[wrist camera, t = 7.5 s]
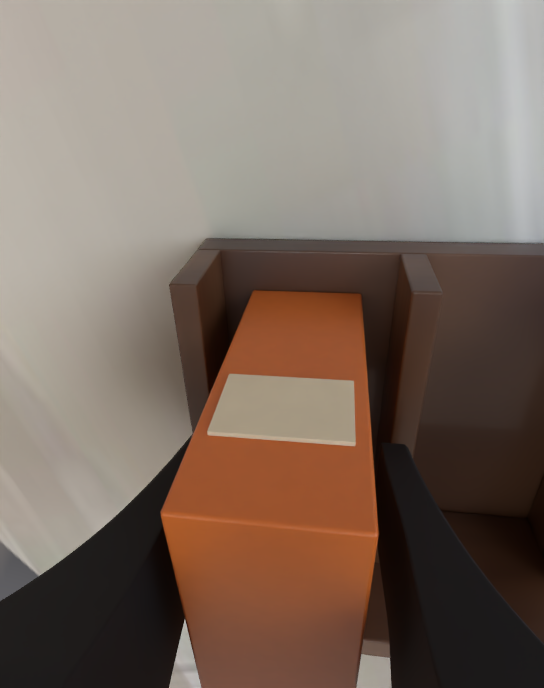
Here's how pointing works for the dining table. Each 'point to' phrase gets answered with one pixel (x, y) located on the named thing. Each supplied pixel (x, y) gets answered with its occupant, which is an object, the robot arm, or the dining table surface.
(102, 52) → the dining table surface
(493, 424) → the book rack
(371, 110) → the dining table surface
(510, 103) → the dining table surface
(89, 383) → the dining table surface
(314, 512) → the book
